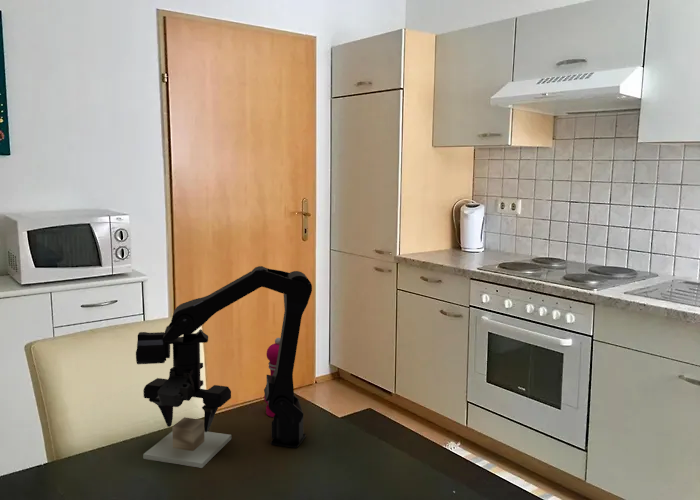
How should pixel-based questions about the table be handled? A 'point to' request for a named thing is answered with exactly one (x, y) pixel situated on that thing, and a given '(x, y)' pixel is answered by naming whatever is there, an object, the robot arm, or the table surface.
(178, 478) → the table surface
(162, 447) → the sage plate
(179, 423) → the birch cube
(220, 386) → the robot arm
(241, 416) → the table surface
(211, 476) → the table surface
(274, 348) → the pepper mill
